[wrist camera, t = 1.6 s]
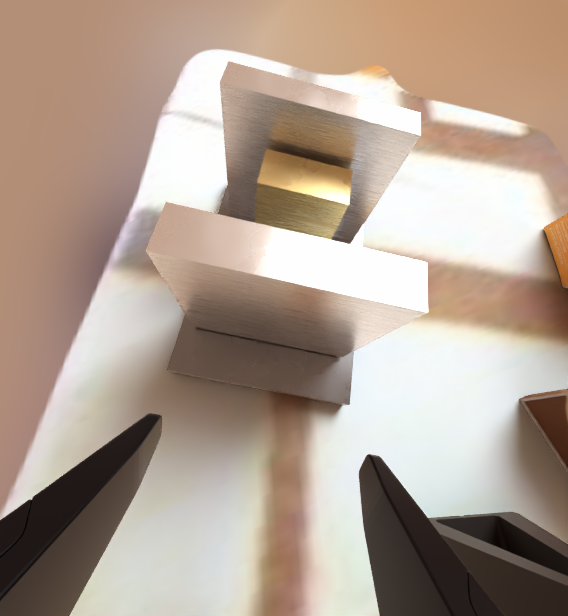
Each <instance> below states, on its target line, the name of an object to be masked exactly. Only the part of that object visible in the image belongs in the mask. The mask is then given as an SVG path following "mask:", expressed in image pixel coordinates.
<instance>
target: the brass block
mask: <svg viewBox="0 0 568 616" xmlns="http://www.w3.org/2000/svg"><path fill="white" fill-rule="evenodd" d="M352 172H353V170H349V169H345V168H341V167H337V166H333V165H329V164H325V163H321V162H317V161H313V160H309V159H305V158H301V157H297V156H293V155H289V154H285V153H281V152H277V151H273V150H269V149H266V152H265V155H264V159H263V163H262V166H261V170H260V174H259V177H258V181H257V193H256V211H255V223H258V224H263V225H267V226H271V227H276V228H280V229H284V230H289V231H293V232H297V233H302V234H306V235H310V236H315V237H319V238H323V239H328V240H331V239H332V237H333V235H334V233H335V231H336V229H337V227H338V225H339V223H340V221H341V219H342V217H343V215H344V213H345V211H346V209H347V207H348V206H349V200H350V191H351V181H352Z"/></svg>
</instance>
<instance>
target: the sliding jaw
mask: <svg viewBox="0 0 568 616" xmlns="http://www.w3.org/2000/svg"><path fill="white" fill-rule="evenodd" d="M146 252H147V254H148V255H149V257H150V258H151V260H152V262H153V263H154V265H155V266H156V268H157V269H158V271H159V273H160V274H161V276H162V277H163V279H164V281H165V282H166V284H167V285H168V287H169V288H170V290H171V292H172V293H173V295H174V296H175V298H176V300H177V301H178V303H179V304H180V306H181V307H182V309H183V311H184V312H185V314H186V315H187V317H188V319H189V320H190V322H191V323H192V325H193V327H197V328H202V329H206V330H211V331H216V332H221V333H226V334H231V335H236V336H241V337H246V338H251V339H256V340H261V341H265V342H270V343H275V344H280V345H285V346H290V347H295V348H300V349H305V350H310V351H315V352H319V353H324V354H329V355H334V356H339V357H344V356H346V355H347V354H349V353H351V352H353V351H355V350H357V349H359V348H361V347H363V346H365V345H367V344H369V343H370V342H372V341H374V340H376V339H378V338H380V337H382V336H384V335H386V334H388V333H390V332H391V331H393V330H395V329H397V328H399V327H401V326H403V325H405V324H407V323H409V322H411V321H413V320H414V319H416V318H418V317H420V316H422V315H424V314H426V313H428V290H427V262H423V261H418V260H414V259H410V258H405V257H401V256H397V255H392V254H388V253H384V252H379V251H375V250H371V249H366V248H362V247H358V246H353V245H349V244H345V243H340V242H336V241H332V240H328V239H323V238H319V237H315V236H310V235H306V234H302V233H297V232H293V231H289V230H284V229H280V228H276V227H271V226H267V225H263V224H258V223H254V222H250V221H245V220H241V219H237V218H232V217H228V216H224V215H219V214H215V213H211V212H207V211H202V210H198V209H194V208H189V207H185V206H181V205H176V204H172V203H168V202H166V203H165V206H164V208H163V211H162V213H161V215H160V218H159V220H158V222H157V225H156V227H155V229H154V232H153V234H152V237H151V239H150V241H149V244H148V246H147V248H146Z"/></svg>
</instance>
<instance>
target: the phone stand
mask: <svg viewBox="0 0 568 616" xmlns="http://www.w3.org/2000/svg"><path fill="white" fill-rule="evenodd" d="M428 519H429V520H430V521H431V523H432V524H433V525H434V527H435V528H436V529H437V530H438V532H439V533H440V534H441V536H442V537H443V538H444V539H445V541H446V542H447V543H448V545H449V546H450V547H451V548H452V550H453V551H454V552H455V554H456V555H457V556H458V557H459V559H460V560H461V561H462V563H463V564H464V565H465V566H466V568H467V571H469V572H470V573H471V574H472V575H473V577H474V578H475V579H476V580H477V582H478V583H479V584H480V586H481V587H482V588H483V589H484V591H485V592H486V593H487V594H488V596H489V597H490V598H491V599H492V601H493V602H494V603H495V604H496V606H497V607H498V608H499V609H500V610H501V612H502V613H503V614H504V615H505V616H568V544H566V543H565V542H563V541H561V540H560V539H558V538H557V537H555V536H553V535H552V534H550V533H549V532H547V531H545V530H544V529H542V528H541V527H539V526H537V525H536V524H534V523H533V522H531V521H529V520H528V519H526V518H525V517H523V516H521V515H520V514H518V513H514V512H504V513H491V514H477V515H464V517H462V516H450V517H437V518H428Z"/></svg>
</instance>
